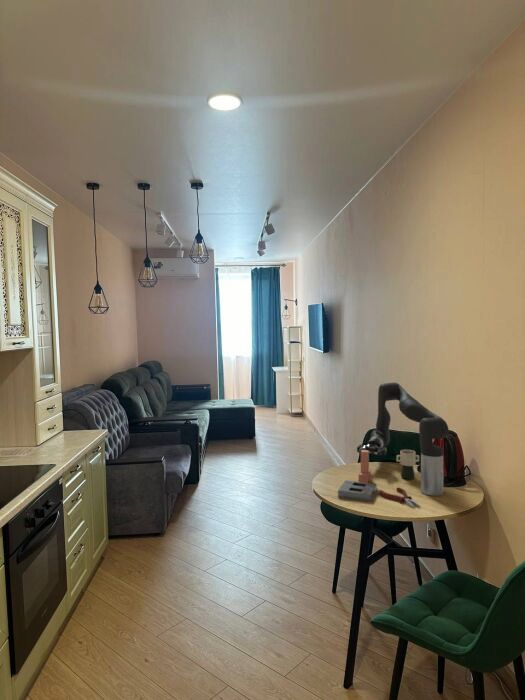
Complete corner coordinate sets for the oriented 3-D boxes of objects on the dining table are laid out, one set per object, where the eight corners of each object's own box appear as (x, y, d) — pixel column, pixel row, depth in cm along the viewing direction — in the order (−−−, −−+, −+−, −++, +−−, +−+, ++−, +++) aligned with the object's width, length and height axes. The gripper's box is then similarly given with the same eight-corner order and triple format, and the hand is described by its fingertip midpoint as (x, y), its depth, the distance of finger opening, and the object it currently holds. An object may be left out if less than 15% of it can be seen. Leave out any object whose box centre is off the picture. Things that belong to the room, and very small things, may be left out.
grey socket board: (376, 490, 207) (376, 484, 207) (370, 501, 194) (370, 494, 194) (345, 486, 213) (345, 480, 212) (338, 497, 200) (338, 490, 200)
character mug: (417, 475, 227) (417, 449, 226) (421, 480, 220) (421, 453, 219) (394, 475, 227) (394, 449, 227) (398, 480, 220) (398, 453, 219)
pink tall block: (370, 479, 221) (370, 449, 220) (367, 485, 213) (367, 454, 212) (362, 478, 223) (362, 448, 222) (358, 484, 215) (358, 453, 214)
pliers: (406, 512, 184) (406, 506, 184) (377, 495, 203) (377, 489, 203) (429, 508, 188) (429, 502, 188) (399, 491, 207) (399, 486, 207)
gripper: (361, 436, 245) (354, 444, 230) (388, 439, 239) (383, 447, 225) (361, 450, 246) (354, 459, 231) (388, 453, 240) (383, 462, 225)
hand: (369, 453), depth 228 cm, fingers open, 8 cm apart
